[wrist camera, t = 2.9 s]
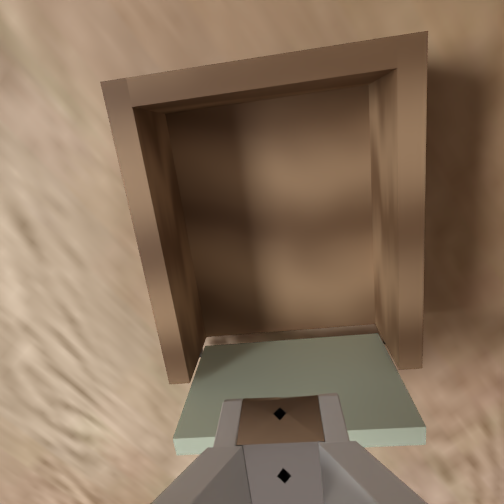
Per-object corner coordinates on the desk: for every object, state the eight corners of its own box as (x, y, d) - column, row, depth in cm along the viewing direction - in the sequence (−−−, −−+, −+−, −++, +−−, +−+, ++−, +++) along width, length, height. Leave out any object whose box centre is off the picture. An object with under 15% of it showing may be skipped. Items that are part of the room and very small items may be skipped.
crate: (147, 96, 22) (100, 81, 16) (385, 61, 20) (428, 30, 14) (195, 345, 27) (173, 401, 21) (389, 330, 25) (422, 387, 20)
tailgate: (205, 345, 25) (172, 438, 17) (378, 333, 23) (426, 426, 16) (208, 362, 25) (177, 460, 17) (378, 350, 24) (425, 449, 16)
